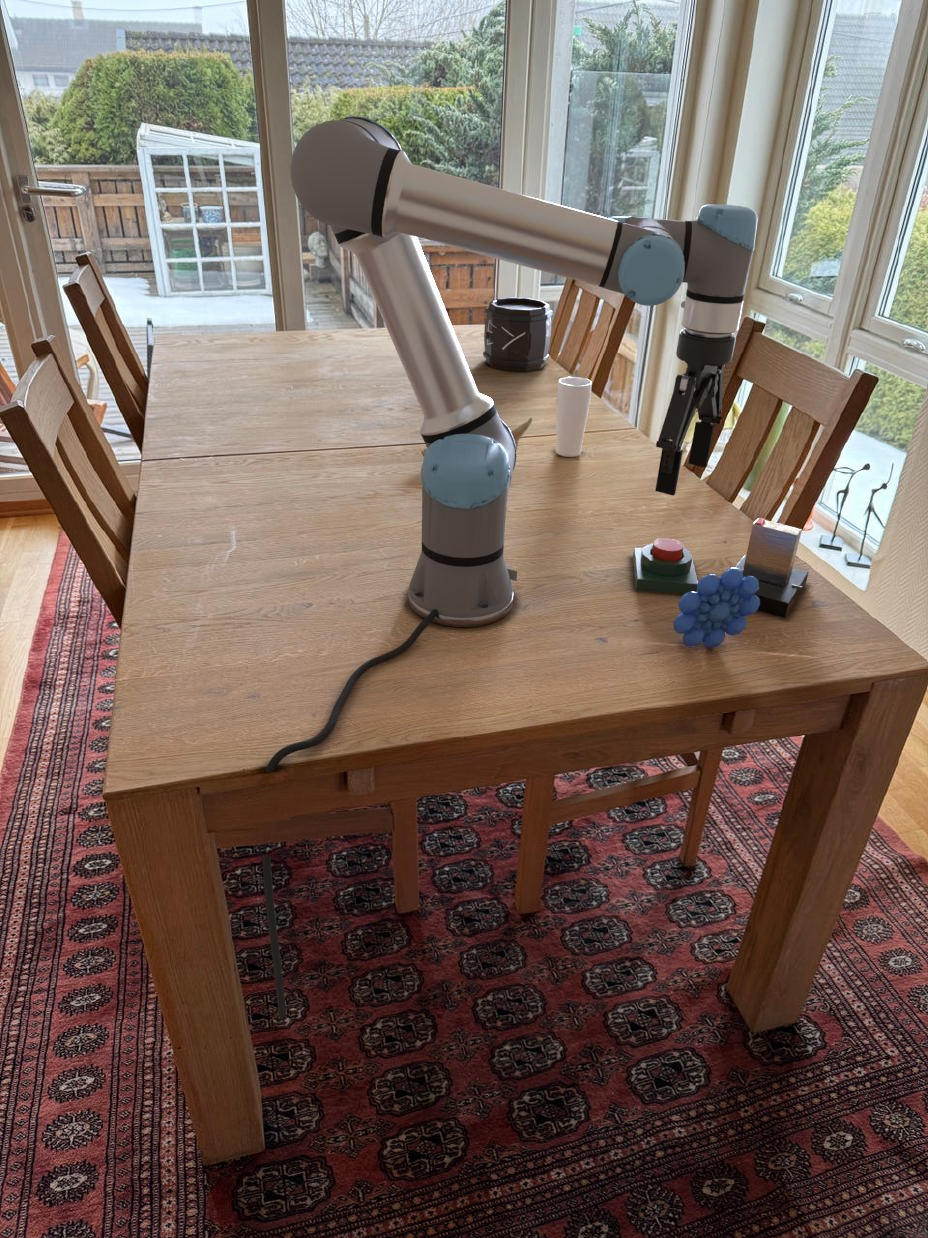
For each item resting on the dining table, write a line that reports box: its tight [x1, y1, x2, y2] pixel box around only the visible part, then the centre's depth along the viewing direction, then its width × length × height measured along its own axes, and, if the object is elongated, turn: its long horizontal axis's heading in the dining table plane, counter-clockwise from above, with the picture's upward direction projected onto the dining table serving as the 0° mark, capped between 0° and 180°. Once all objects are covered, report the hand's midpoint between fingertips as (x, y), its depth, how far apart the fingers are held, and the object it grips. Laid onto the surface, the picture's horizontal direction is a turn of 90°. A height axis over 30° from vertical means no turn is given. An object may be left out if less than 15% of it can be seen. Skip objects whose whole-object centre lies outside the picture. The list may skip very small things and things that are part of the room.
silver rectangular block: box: [743, 517, 803, 587], centre depth 136 cm, size 6×3×9 cm, turn 58°
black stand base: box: [730, 554, 809, 619], centre depth 139 cm, size 12×11×3 cm
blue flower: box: [672, 567, 760, 648], centre depth 123 cm, size 12×7×12 cm, turn 98°
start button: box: [652, 537, 685, 561], centre depth 140 cm, size 5×5×2 cm
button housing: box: [632, 543, 699, 595], centre depth 142 cm, size 11×9×4 cm
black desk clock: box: [482, 296, 554, 372], centre depth 243 cm, size 18×18×16 cm
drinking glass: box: [554, 376, 593, 458], centre depth 185 cm, size 7×7×15 cm
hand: (681, 478), depth 134 cm, fingers open, 13 cm apart
